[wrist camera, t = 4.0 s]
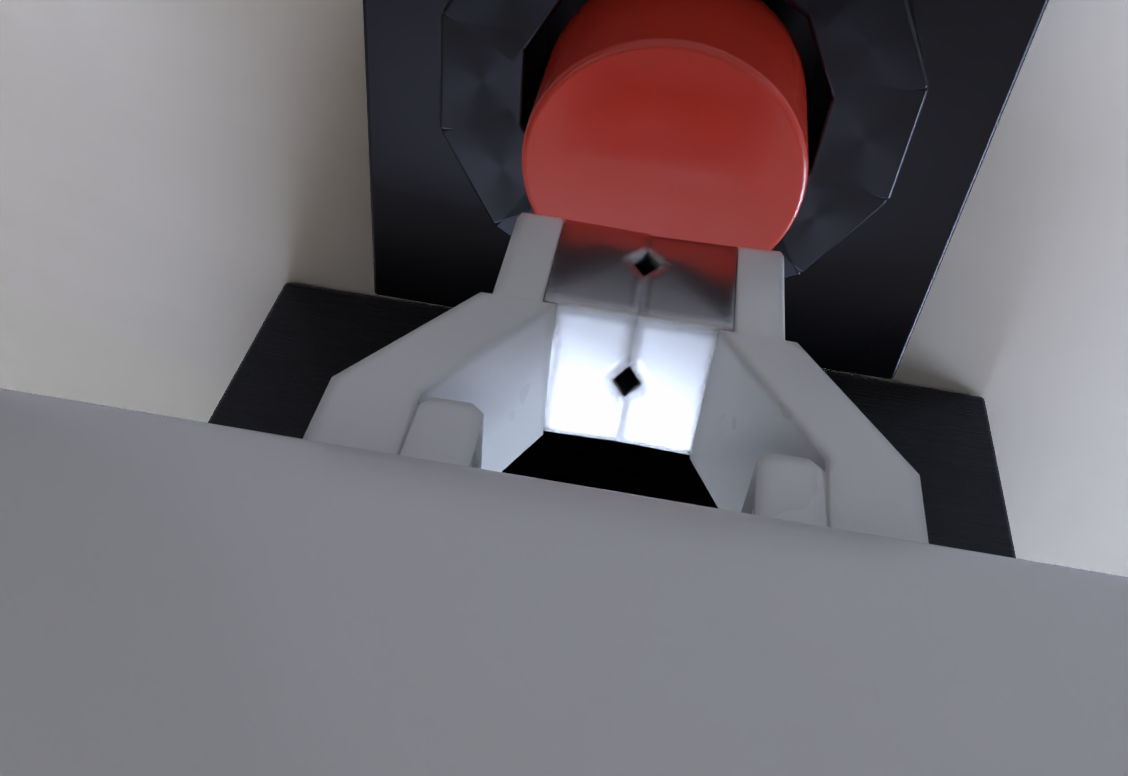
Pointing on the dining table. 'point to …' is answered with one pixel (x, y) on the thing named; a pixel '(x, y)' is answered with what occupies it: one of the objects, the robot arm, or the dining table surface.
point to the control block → (835, 149)
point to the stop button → (672, 122)
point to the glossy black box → (367, 324)
